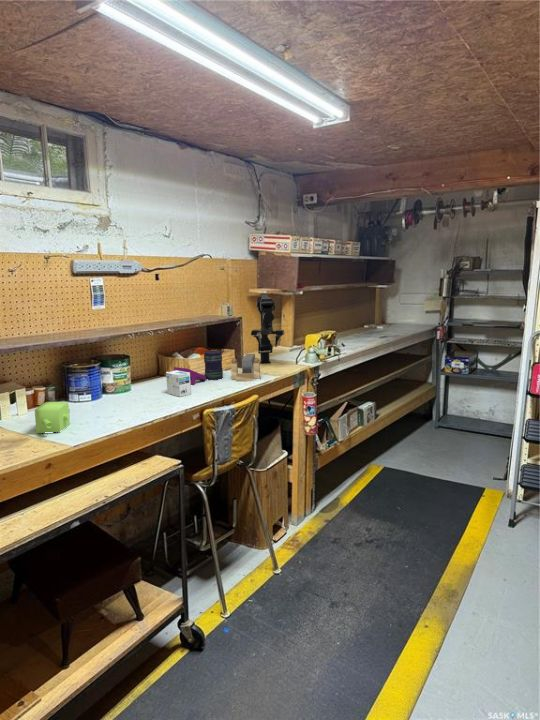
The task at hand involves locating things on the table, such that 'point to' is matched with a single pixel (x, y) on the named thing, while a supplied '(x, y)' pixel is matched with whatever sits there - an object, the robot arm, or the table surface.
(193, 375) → the mounting bracket
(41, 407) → the gearbox
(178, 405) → the table surface
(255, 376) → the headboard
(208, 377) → the storage jar
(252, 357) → the silver rectangular block
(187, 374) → the light bulb box
